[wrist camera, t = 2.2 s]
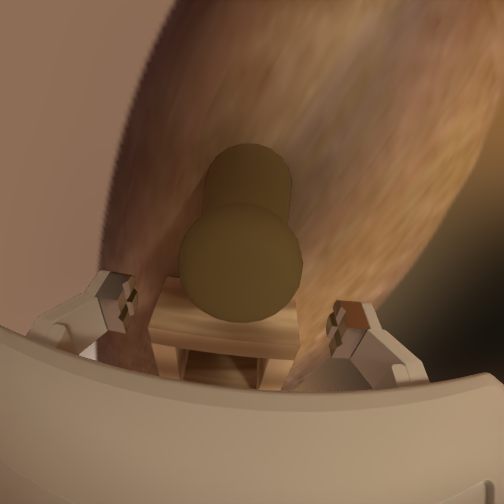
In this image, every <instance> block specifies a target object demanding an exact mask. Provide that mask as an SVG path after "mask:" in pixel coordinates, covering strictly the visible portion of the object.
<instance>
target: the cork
mask: <svg viewBox="0 0 504 504" xmlns="http://www.w3.org/2000/svg"><path fill="white" fill-rule="evenodd" d="M291 185H292V179H291V175H290V171H289V168H288V166H287V165H286V163H285V162H284V161H283V159H282V158H281V157H280V156H279V155H278V154H276V153H275V152H274V151H272V150H271V149H269V148H267V147H264V146H261V145H258V144H240V145H237V146H233V147H230V148H228V149H226V150H225V151H224V152H222V153H221V154H219V155H218V156H217V157H216V159H215V160H214V161H213V163H212V164H211V165H210V168H209V171H208V174H207V178H206V185H205V192H204V200H203V208H202V216H201V217H200V218H199V219H198V220H196V221H195V222H194V224H193V225H192V226H191V228H190V229H189V231H188V232H187V233H186V235H185V236H184V239H183V241H182V243H181V247H180V251H179V256H178V272H179V278H180V283H181V284H182V286H183V288H184V290H185V292H186V293H187V295H188V297H189V298H190V300H191V302H192V303H194V304H195V305H196V306H197V307H198V308H199V309H200V310H201V311H203V312H204V313H206V314H208V315H210V316H212V317H214V318H216V319H220V320H224V321H227V322H233V323H250V322H255V321H261V320H264V319H266V318H268V317H271V316H273V315H275V314H277V313H278V312H279V311H280V310H281V309H283V308H284V307H285V306H286V305H287V304H288V303H289V302H290V301H291V299H292V298H293V296H294V294H295V293H296V291H297V289H298V288H299V285H300V280H301V274H302V268H303V260H302V255H301V251H300V247H299V243H298V239H297V238H296V236H295V235H294V233H293V232H292V231H291V229H290V228H289V226H288V218H289V208H290V197H291Z"/></svg>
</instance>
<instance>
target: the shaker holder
mask: <svg viewBox="0 0 504 504" xmlns="http://www.w3.org/2000/svg"><path fill="white" fill-rule="evenodd" d="M148 331H149V336H150V340H151V345H152V349H153V353H154V357H155V361H156V365H157V369H158V373H159V376H162V377H167V378H172V379H178V380H184V381H190V382H197V383H203V384H211V385H219V386H227V387H236V388H247V389H260V390H276V391H280V390H281V388H282V385H283V383H284V381H285V379H286V377H287V375H288V372H289V370H290V368H291V366H292V364H293V361H294V359H295V357H296V354H297V352H298V350H299V348H300V339H299V329H298V320H297V311H296V303H295V294H294V296H293V298H292V299H291V301H290V302H289V303H288V304H287V305H286V306H285V307H284V308H283V309H281V310H280V311H279V312H278V313H277V314H275V315H273V316H271V317H268V318H266V319H264V320H261V321H255V322H250V323H233V322H227V321H224V320H220V319H216V318H214V317H212V316H210V315H208V314H206V313H204V312H203V311H201V310H200V309H199V308H198V307H197V306H196V305H195V304H194V303H192V302H191V300H190V298H189V297H188V295H187V293H186V292H185V290H184V288H183V286H182V284H181V283H180V278H175V277H168V276H167V278H166V280H165V283H164V285H163V288H162V290H161V293H160V295H159V298H158V301H157V303H156V306H155V309H154V311H153V314H152V317H151V319H150V322H149V325H148Z"/></svg>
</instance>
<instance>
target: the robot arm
mask: <svg viewBox="0 0 504 504" xmlns="http://www.w3.org/2000/svg"><path fill="white" fill-rule="evenodd" d="M135 284H136V282H135V277H134V276H133V275H128V274H122V273H117V272H111V271H106V270H100V271H99V272H98V273H97V274H96V276H95V277H94V279H93V281H92V282H91V283H90V285H89V286H88V288H87V289H86V291H85V292H84V294H79V295H77V296H75V297H73V298H71V299H69V300H67V301H66V302H64V303H62V304H60V305H58V306H57V307H55V308H53V309H51V310H50V311H47V312H46V313H44V314H42V315H40V316H39V317H38V318H37V319H36V321H35V322H34V324H33V326H32V327H31V329H30V330H29V332H28V333H27V335H26V336H23V335H21V334H19V333H16V332H14V331H12V330H9V329H7V328H5V327H3V326H1V325H0V504H504V385H503V384H502V383H501V382H500V381H498V380H497V379H496V378H495V377H494V376H492V375H491V374H490V373H480V374H476V375H472V376H467V377H463V378H458V379H452V380H447V381H441V382H436V383H430V382H429V380H428V377H427V375H426V372H425V369H424V367H423V364H422V362H421V361H420V360H419V359H418V358H417V357H416V356H414V355H413V354H412V353H411V352H410V351H408V350H407V349H406V348H405V347H404V346H403V345H402V344H401V343H399V342H398V341H397V340H396V339H395V338H394V337H392V336H391V335H390V334H389V333H388V332H387V331H386V330H382V328H381V326H380V323H379V321H378V318H377V316H376V313H375V311H374V308H373V306H372V304H371V303H370V302H356V301H342V300H337V301H336V302H335V303H334V306H333V310H334V312H333V313H332V314H330V315H329V317H328V320H327V325H326V333H327V337H328V338H329V339H330V340H331V342H330V344H329V348H330V352H331V357H332V358H350V359H351V361H352V362H353V364H354V365H355V366H356V367H357V368H358V370H359V371H360V372H361V374H362V375H363V376H364V377H365V379H366V380H367V381H368V382H369V383H370V385H371V386H372V387H373V388H374V389H373V390H361V391H333V392H332V391H329V392H328V391H327V392H308V391H307V392H306V391H276V390H260V389H247V388H236V387H227V386H219V385H211V384H203V383H197V382H190V381H184V380H178V379H172V378H167V377H162V376H157V375H152V374H147V373H142V372H138V371H134V370H129V369H125V368H121V367H117V366H113V365H109V364H106V363H102V362H99V361H95V360H92V359H88V358H85V357H81V356H79V354H80V353H81V352H82V351H83V350H84V349H86V348H87V347H88V346H89V345H91V344H92V343H93V342H94V341H96V340H97V339H98V338H99V337H101V336H102V335H103V334H104V333H106V332H107V331H108V330H111V331H116V332H121V333H126V332H127V330H128V327H129V325H130V323H131V319H130V316H132V315H133V314H135V311H136V309H137V304H138V294H137V291H136V290H135V289H134V286H135Z"/></svg>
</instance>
